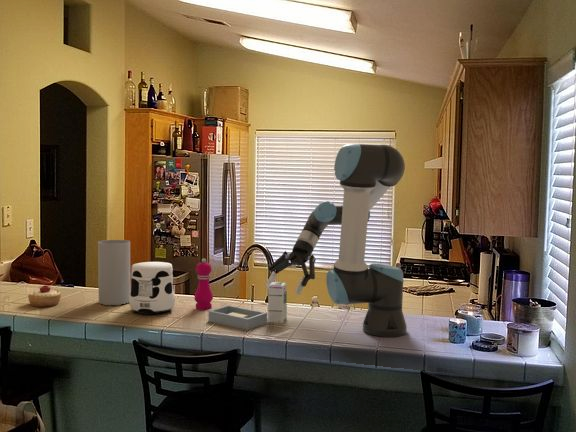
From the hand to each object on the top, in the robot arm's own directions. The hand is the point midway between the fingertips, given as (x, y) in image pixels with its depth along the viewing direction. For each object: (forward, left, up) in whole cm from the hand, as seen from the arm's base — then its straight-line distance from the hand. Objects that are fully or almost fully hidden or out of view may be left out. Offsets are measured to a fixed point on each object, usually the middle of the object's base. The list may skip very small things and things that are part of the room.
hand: (282, 290), depth 217 cm
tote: (+9, +15, -11) cm, 21 cm away
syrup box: (-1, +5, -11) cm, 12 cm away
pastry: (+88, +40, -11) cm, 97 cm away
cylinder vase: (+69, +21, -11) cm, 73 cm away
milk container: (+47, +21, -11) cm, 52 cm away
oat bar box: (+9, +15, -10) cm, 21 cm away
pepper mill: (+34, +6, -11) cm, 36 cm away
